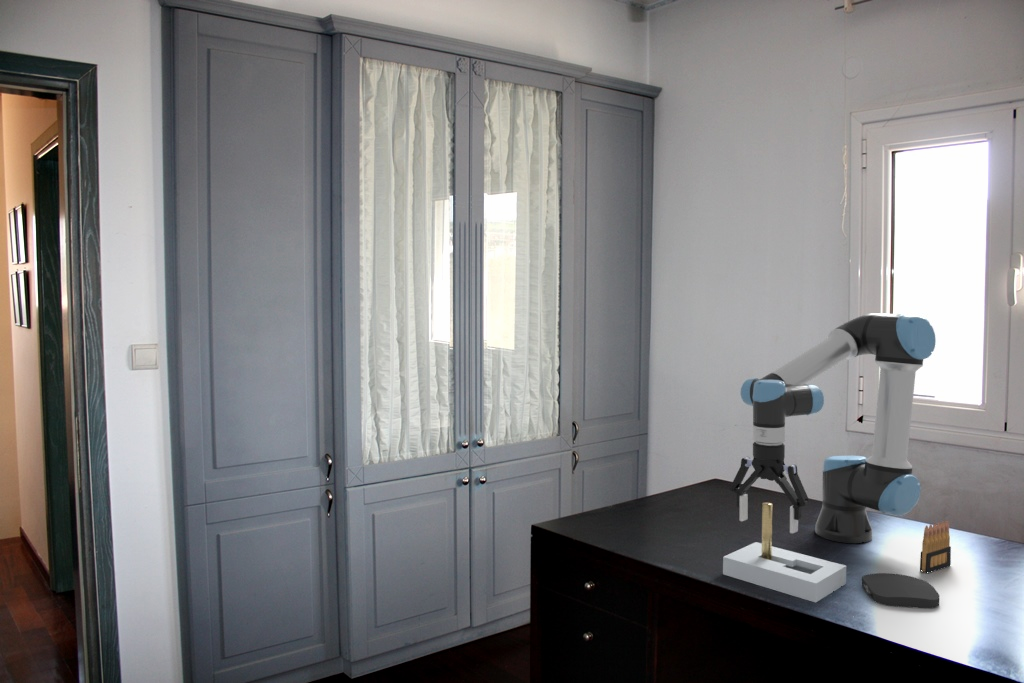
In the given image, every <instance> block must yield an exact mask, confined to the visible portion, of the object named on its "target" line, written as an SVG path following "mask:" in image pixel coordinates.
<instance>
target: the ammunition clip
mask: <svg viewBox="0 0 1024 683" xmlns="http://www.w3.org/2000/svg"><path fill="white" fill-rule="evenodd" d="M950 540H951V538H950V525H949V520H948V519H946V520H945V521H944V520H942V521H941V523H940V522H939V521H938V522H937V523H936V522H935V523H933V524H931V523H930V524H929V526H928V525H925V527H924V530H923V539H922V545H921V546H922V548H921V551H920V558H919V559H920V560H919V572H921V570H922V571H923V572H922V573H924V572H926V573H925V574H928V573H927V572H930V573H932V572H931V571H933V572H935V571H934V570H936V571H939V570H942V569H945V568H947V566H948V567H951V566H950V565H952V562H951V561H952V560H951V559H952V558H951V556H952V554H951V553H952V550H951V549H952V546H951V545H950V544H951V543H950ZM944 567H945V568H944ZM941 568H942V569H941ZM938 569H939V570H938Z"/></svg>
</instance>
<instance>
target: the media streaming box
mask: <svg viewBox="0 0 1024 683" xmlns="http://www.w3.org/2000/svg"><path fill="white" fill-rule="evenodd" d="M861 587H862V588H863V591H865V593H866V595H867V596H868V598H870V599H871V600H872V601H873V602H875V603H877V604H879V605H883V606H888V607H898V606H899V607H902V608H913V607H918V608H917V609H936V608H938V607H939V606H940V594H939V592H938V590H936V588H935V587H934V586H933V585H932V584H931V583H930V582H928V581H926V580H924V579H921V578H918V577H914V576H911V575H906V574H900V573H887V572H877V573H868V574H865V575H863V576H861Z"/></svg>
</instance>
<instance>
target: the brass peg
mask: <svg viewBox="0 0 1024 683" xmlns="http://www.w3.org/2000/svg"><path fill="white" fill-rule="evenodd" d="M761 505H762V508H761V510H762V512H761V544H762V558H764V559H768V560H772V546H773V507H774V506H773V503H772V502H768V501H767V502H762V504H761Z"/></svg>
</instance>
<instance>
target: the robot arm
mask: <svg viewBox="0 0 1024 683" xmlns="http://www.w3.org/2000/svg"><path fill="white" fill-rule="evenodd" d="M936 342H937V341H936V333H935V330H934V327H933V326H932V325H931V323H930V321H929V320H927V319H926V318H925V317H924V316H922V315H918V314H909V313H879V312H877V313H876V312H875V313H874V312H872V313H866V314H863V315H861V316H858V317H855V318H853V319H850V320H848V321H846V322H844V323H843V324H841V325H839V326H837V327H836V328H834V329H832V330H831V331H830V332H829V333H828V337H826V338H824V339H823V340H822V341H820V342H819V343H817V344H815V345H814V346H812V347H811V348H809V349H807V350H806V351H804V352H802V353H801V354H799V355H798V356H796V357H794V358H792V359H791V360H790V361H787V362H786V363H784V364H783V365H781V366H779V367H778V368H776V369H774V370H773V371H771V372H770V373H769V374H767V375H765V376H763V377H762V378H748V379H746V380H745V381H744V382H743V383H742V385H741V387H740V397H741V400H742V401H743V402H744V403H745V404H746V405H748V406H751V407H752V420H753V421H752V440H753V441H754V442H753V443H752V457H753V458H751V457H750V456H746V457H743V458H741V459H740V460H741V461H740V467H739V469H738V471H737V473H736V475H735V476H734V478H733V481H732V482H731V484H730V487H729V491H730V492H733V493H735V494H736V506H737V508H739V521H740V522H744V521H747V520H748V515H749V514H748V512H749V511H748V510H749V509H748V508H749V501H748V500H749V499H748V498H749V497H748V496H749V495H748V493H747V491H748V490H749V489H750V488H751V486H753V484H754V483H756V481H757V480H758V479H761V480H768V481H774V482H775V483H776V484H777V485H778V486H779V488H780V489H781V491H783V493H784V494H785V496H786V497H787V499H788V500H789V501H790V503H791V504H792V505H791V506H789V533H790V534H795V533H797V532H798V531H799V520H801V519H802V508H803V507H805V506H807V505H809V504H810V503H811V502H810V499H809V496H808V495H807V493H806V490H805V488H804V486H803V483H802V481H801V478H800V476H799V474H798V466H797V464H792V465H790V464H789V465H787V464H785V452H786V451H785V450H786V449H785V448H786V447H785V446H786V445H785V444H784V442H785V441H786V435H785V434H786V430H785V429H786V428H785V426H786V418H787V417H797V416H798V417H799V416H809V415H812V414H817V413H819V412H820V411H821V410H823V407H824V405H825V404H824V403H825V398H824V397H825V395H824V393H823V391H822V390H821V388H820V387H818V386H817V385H815V384H809V383H810V382H812V381H813V380H815V379H816V378H818V377H819V376H821V375H822V374H824V373H825V372H827V371H829V370H830V369H832V368H834V367H835V366H836V365H838V364H840V363H841V362H843V361H844V360H845V361H850V360H853V359H854V358H856V357H858V356H863V355H874V356H875V359H874V362H875V364H876V365H877V366H878V367H879V368H880V371H879V378H878V379H879V380H878V382H879V383H878V388H877V389H878V390H877V401H876V411H875V422H874V433H873V441H872V442H873V443H872V453H871V455H870V456H868V457H866V456H863V455H862V456H861V455H833V456H829V457H827V458H825V459H824V461H823V468H822V506H821V509H820V512H819V514H818V517H817V520H816V522H815V526H814V527H815V529H814V530H815V531H814V532H815V534H816V535H817V536H819V537H821V538H823V539H826V540H829V541H833V542H838V543H845V544H847V543H848V544H862V542H864V543H868V542H870V541H871V540H872V539H873V529H872V525H871V523H870V520H869V517H868V513H867V509H868V508H869V509H871V510H875V511H878V512H880V513H882V514H885V515H891V516H896V517H899V516H904V515H907V514H908V513H910V512H911V511H912V509H913V508H915V506H916V505H917V504H918V502H919V499H920V496H921V491H922V490H921V489H922V487H921V483H920V480H919V479H918V478H917V477H916V476H915V475H913V465H912V464H911V462H909V461H908V454H909V453H908V452H909V441H910V432H911V423H912V410H913V404H914V403H913V402H914V391H915V383H916V382H915V381H916V374H917V371H918V370H919V369H920V368H922V367H923V366H924V360H925V359H928V358H930V357H931V355H932V352H934V351H935V348H936ZM751 467H753V469H754V471H752V473H751V474H750V476H749V477H748V478H747V479H746V480H745V481H744V479H745V477H746V475H747V473H748V471H749V468H751ZM784 472H785V473H786V474H787V476H788V478H787V477H786V475H785V474H784ZM788 479H789V481H790V482H789V481H788ZM743 481H744V482H743ZM742 482H743V483H742Z"/></svg>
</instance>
